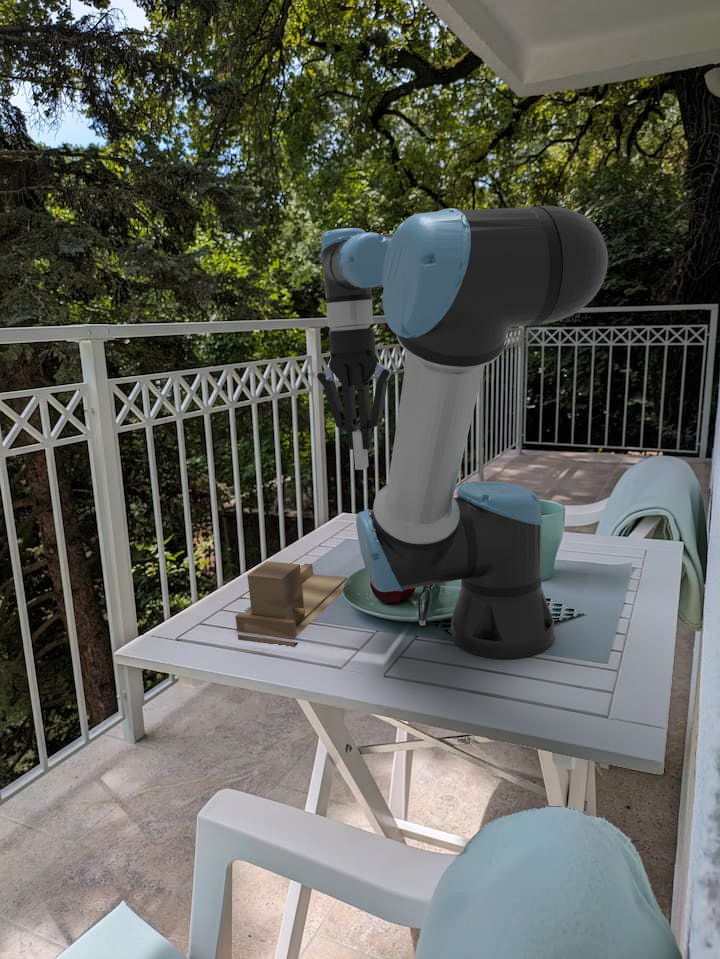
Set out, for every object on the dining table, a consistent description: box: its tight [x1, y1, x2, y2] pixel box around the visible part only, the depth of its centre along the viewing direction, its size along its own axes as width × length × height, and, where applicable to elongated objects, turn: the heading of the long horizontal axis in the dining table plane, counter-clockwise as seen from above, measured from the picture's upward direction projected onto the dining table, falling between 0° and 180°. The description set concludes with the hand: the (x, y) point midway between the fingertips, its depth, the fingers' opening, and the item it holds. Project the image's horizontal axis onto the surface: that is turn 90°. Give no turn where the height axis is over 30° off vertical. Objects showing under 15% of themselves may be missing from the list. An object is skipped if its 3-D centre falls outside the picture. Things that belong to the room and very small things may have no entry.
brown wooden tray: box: [234, 563, 349, 648], centre depth 123 cm, size 24×10×4 cm, turn 157°
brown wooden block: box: [247, 560, 305, 625], centre depth 115 cm, size 6×8×9 cm
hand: (362, 467), depth 126 cm, fingers closed
